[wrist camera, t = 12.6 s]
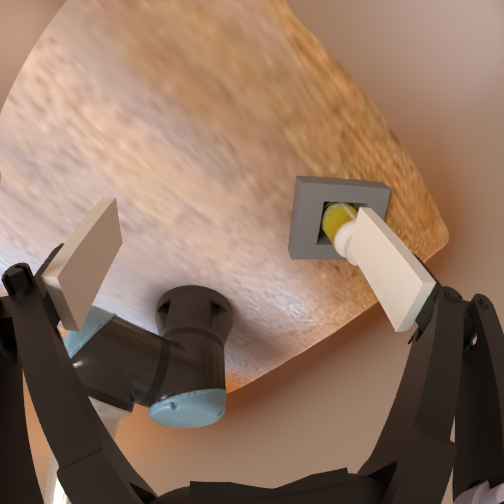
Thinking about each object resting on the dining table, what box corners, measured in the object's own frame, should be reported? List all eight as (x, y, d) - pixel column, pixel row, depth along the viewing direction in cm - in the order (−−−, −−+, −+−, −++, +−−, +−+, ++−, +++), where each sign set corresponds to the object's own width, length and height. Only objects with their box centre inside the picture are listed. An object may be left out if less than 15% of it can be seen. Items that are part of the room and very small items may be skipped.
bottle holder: (365, 248, 49) (372, 257, 47) (288, 249, 48) (291, 259, 45) (382, 182, 42) (391, 189, 40) (296, 175, 41) (301, 182, 38)
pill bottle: (317, 233, 47) (339, 273, 37) (318, 199, 43) (343, 234, 34) (351, 230, 47) (378, 267, 38) (354, 197, 43) (385, 230, 34)
